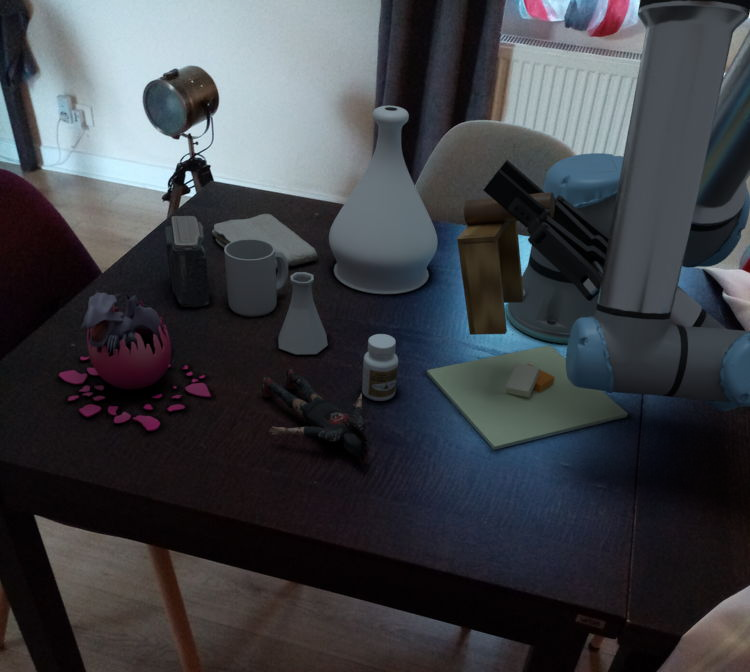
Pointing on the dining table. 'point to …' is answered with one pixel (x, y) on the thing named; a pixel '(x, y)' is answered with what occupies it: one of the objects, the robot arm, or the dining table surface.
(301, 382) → the figurine
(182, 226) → the camera
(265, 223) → the washcloth
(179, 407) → the hatching egg
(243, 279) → the cup
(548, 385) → the block
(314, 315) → the flask
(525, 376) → the block
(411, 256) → the vase
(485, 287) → the open wooden box
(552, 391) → the placemat
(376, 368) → the pill bottle
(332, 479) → the dining table surface
